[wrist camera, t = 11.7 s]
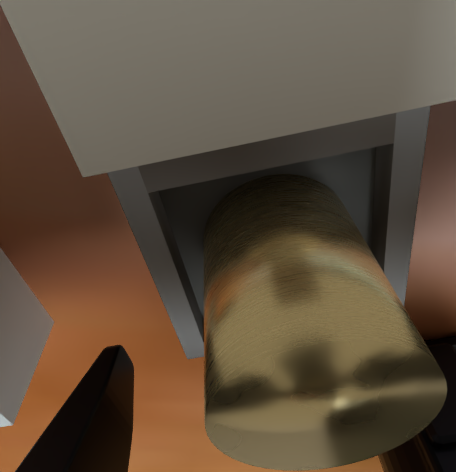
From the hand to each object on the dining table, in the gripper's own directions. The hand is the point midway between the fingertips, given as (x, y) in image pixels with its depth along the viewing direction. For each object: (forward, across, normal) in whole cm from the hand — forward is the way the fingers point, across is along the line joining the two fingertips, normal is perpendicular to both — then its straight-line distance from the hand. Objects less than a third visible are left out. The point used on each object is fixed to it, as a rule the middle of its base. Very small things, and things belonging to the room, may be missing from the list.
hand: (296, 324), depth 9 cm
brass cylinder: (+4, 0, 0) cm, 4 cm away
